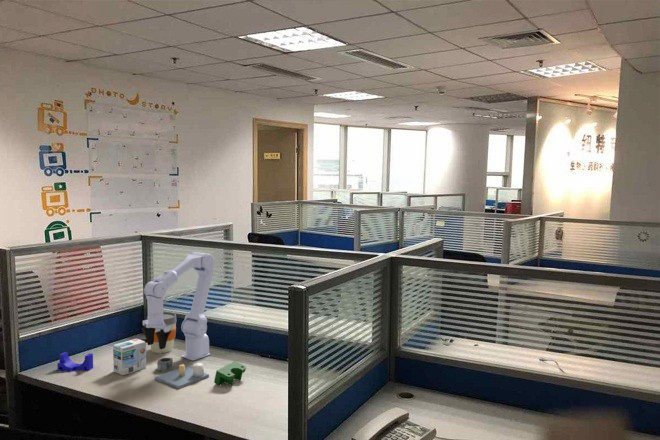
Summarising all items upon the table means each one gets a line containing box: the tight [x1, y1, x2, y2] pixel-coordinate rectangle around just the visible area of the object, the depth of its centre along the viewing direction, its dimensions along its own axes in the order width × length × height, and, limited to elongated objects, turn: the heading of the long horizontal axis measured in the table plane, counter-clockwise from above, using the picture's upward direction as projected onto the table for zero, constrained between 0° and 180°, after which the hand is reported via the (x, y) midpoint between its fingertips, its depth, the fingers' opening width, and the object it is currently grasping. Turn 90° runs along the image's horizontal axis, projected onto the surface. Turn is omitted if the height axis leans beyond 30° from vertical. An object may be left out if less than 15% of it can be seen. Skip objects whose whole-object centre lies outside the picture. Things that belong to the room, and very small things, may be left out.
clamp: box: [213, 360, 247, 387], centre depth 193 cm, size 12×6×9 cm, turn 148°
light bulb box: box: [112, 338, 147, 376], centre depth 204 cm, size 11×7×11 cm, turn 143°
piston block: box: [154, 362, 210, 390], centre depth 196 cm, size 14×14×5 cm
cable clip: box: [56, 351, 94, 372], centre depth 204 cm, size 12×4×6 cm, turn 85°
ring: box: [156, 357, 174, 372], centre depth 205 cm, size 6×6×4 cm
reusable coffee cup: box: [146, 311, 178, 354], centre depth 227 cm, size 13×13×15 cm
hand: (156, 346), depth 202 cm, fingers open, 7 cm apart
